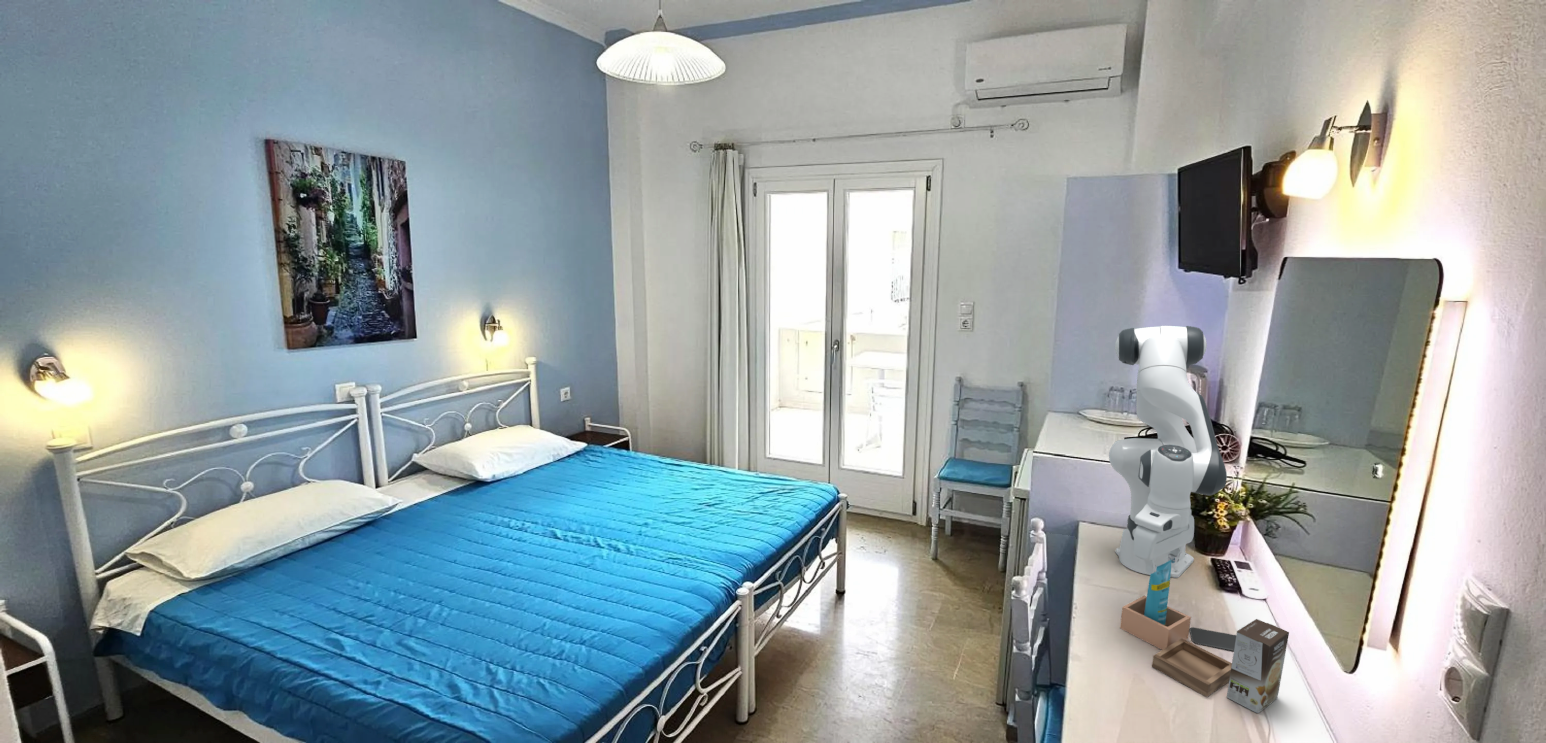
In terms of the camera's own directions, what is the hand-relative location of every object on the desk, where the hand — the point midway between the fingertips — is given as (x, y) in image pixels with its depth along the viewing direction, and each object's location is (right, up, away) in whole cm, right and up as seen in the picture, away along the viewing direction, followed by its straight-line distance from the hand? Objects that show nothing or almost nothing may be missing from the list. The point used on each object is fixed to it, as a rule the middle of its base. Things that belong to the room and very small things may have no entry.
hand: (1161, 566), depth 164 cm
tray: (+1, -21, -10) cm, 23 cm away
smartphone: (+16, -19, 0) cm, 25 cm away
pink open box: (0, -18, +4) cm, 18 cm away
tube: (0, -18, +4) cm, 19 cm away
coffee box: (+9, -23, -18) cm, 31 cm away
